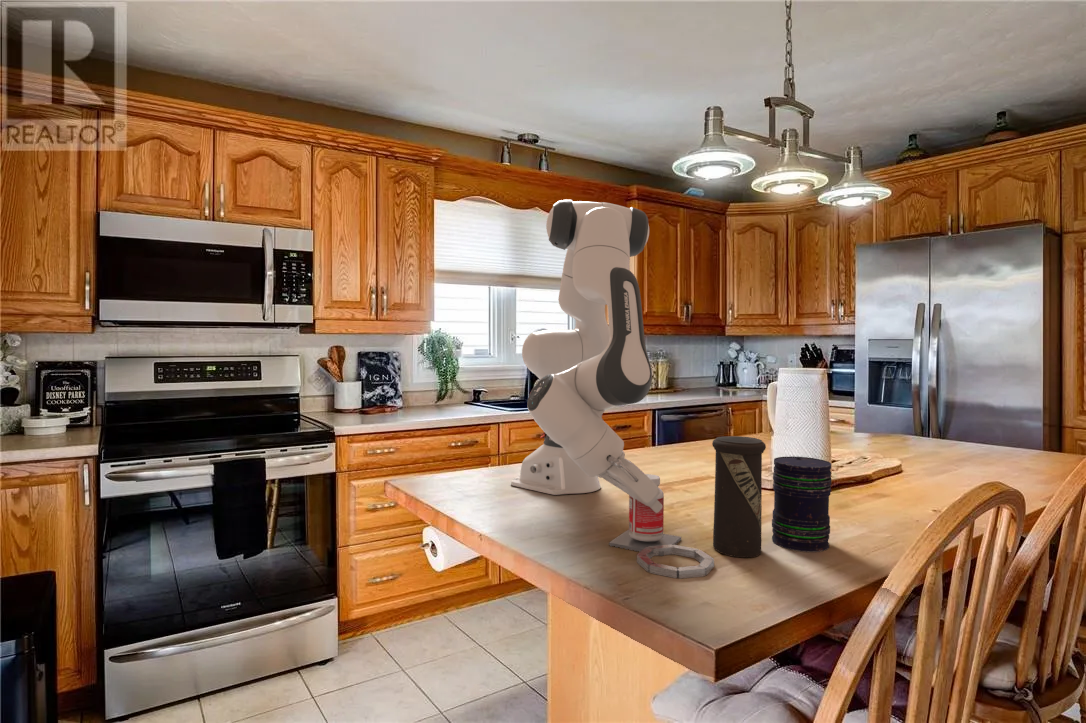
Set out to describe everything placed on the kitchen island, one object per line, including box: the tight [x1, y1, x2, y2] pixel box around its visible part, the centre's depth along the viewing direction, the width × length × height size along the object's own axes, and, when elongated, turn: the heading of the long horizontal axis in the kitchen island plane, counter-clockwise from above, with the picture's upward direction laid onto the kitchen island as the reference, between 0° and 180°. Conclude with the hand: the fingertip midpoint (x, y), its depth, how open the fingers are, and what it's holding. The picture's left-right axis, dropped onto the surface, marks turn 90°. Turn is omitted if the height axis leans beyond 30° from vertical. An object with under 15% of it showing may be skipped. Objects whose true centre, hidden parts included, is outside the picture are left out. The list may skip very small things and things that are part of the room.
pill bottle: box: [628, 473, 665, 542], centre depth 113 cm, size 6×6×11 cm
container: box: [712, 435, 767, 558], centre depth 109 cm, size 9×9×20 cm
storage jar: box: [771, 456, 832, 553], centre depth 113 cm, size 10×10×15 cm
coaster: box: [608, 528, 682, 557], centre depth 113 cm, size 10×10×1 cm
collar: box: [636, 544, 715, 579], centre depth 102 cm, size 12×12×1 cm
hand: (649, 503), depth 113 cm, fingers closed on pill bottle, 6 cm apart
